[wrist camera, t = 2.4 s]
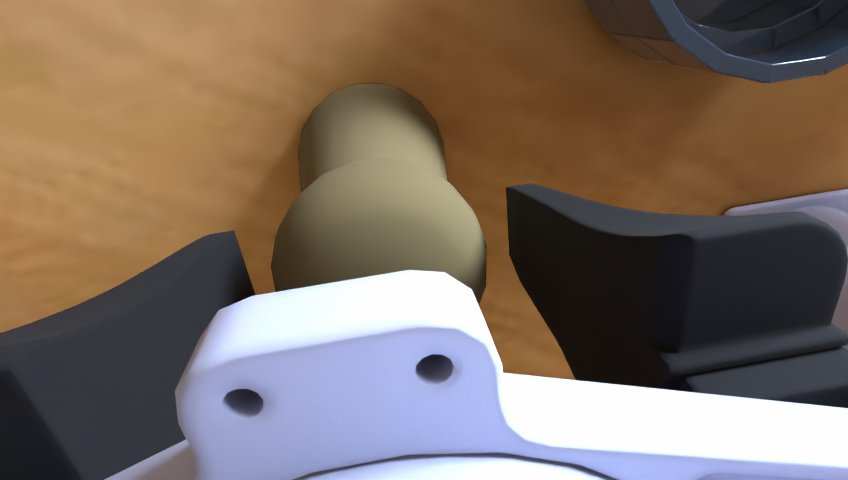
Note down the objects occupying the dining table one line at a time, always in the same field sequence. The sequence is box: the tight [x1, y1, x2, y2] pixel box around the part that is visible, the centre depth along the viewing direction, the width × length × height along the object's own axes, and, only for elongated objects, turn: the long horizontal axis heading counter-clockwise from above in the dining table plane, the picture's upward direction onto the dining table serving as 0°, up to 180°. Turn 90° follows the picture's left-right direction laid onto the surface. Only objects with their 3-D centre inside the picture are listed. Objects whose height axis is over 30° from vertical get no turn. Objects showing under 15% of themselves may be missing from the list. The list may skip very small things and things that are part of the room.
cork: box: [271, 83, 486, 305], centre depth 15 cm, size 6×6×11 cm
